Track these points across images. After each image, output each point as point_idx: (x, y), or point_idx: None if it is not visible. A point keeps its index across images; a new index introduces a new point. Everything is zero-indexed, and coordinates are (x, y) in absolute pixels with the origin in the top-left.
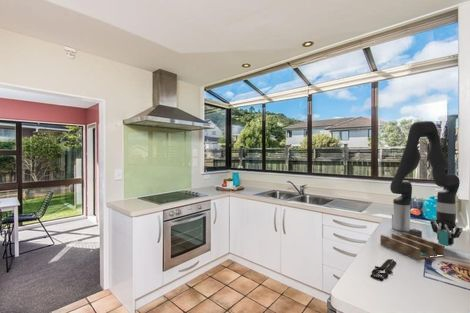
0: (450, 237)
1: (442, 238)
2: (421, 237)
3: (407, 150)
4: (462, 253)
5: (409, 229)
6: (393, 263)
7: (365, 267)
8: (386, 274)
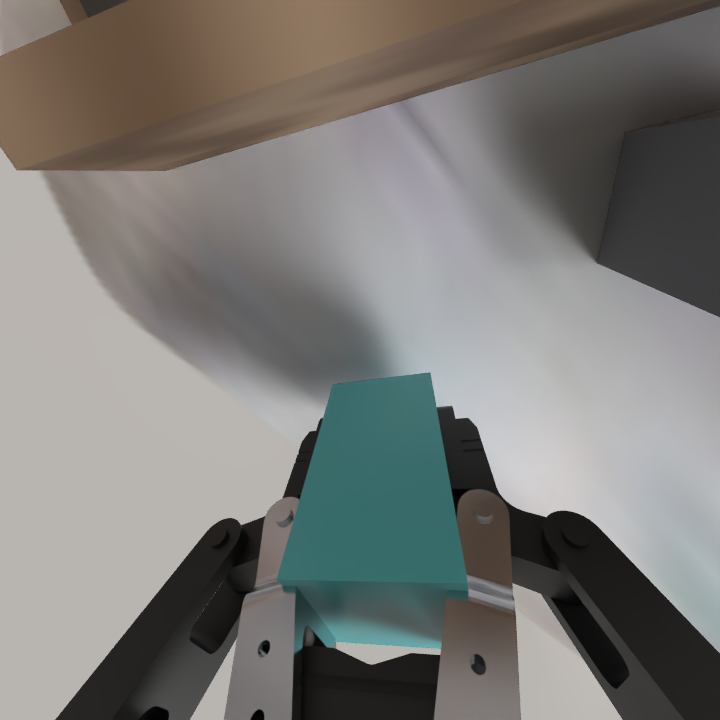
0: (281, 509)
1: (377, 441)
2: (673, 287)
3: None
4: (286, 421)
5: None
6: None
7: None
8: None
